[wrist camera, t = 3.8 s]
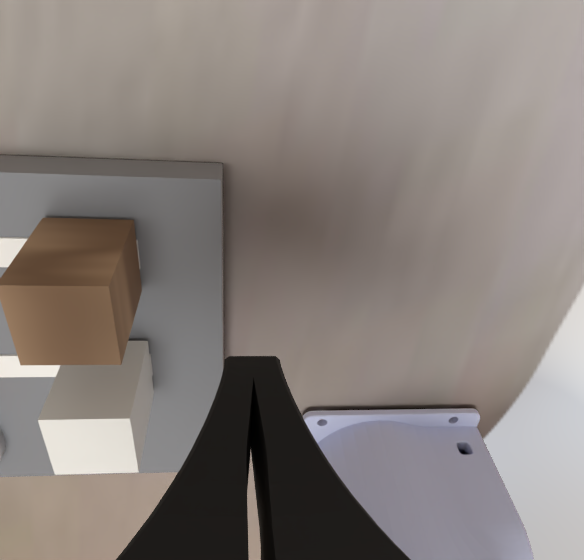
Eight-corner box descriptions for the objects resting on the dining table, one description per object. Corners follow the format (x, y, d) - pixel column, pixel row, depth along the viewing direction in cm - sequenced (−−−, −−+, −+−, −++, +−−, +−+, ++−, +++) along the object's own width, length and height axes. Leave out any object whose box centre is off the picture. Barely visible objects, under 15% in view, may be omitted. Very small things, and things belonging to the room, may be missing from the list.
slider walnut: (133, 219, 17) (108, 286, 14) (142, 290, 19) (121, 364, 16) (42, 217, 17) (-5, 285, 14) (59, 289, 19) (20, 365, 16)
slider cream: (147, 340, 21) (130, 418, 17) (153, 392, 22) (138, 472, 19) (70, 340, 20) (37, 419, 17) (82, 393, 22) (54, 474, 19)
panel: (222, 162, 18) (220, 192, 16) (224, 446, 27) (223, 488, 25) (-304, 143, 17) (-381, 173, 14) (-117, 454, 25) (-148, 499, 23)
